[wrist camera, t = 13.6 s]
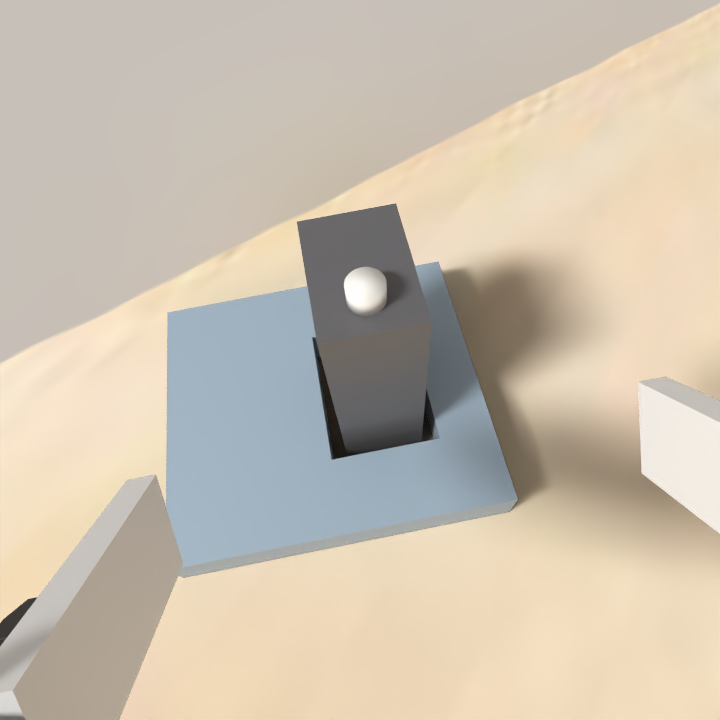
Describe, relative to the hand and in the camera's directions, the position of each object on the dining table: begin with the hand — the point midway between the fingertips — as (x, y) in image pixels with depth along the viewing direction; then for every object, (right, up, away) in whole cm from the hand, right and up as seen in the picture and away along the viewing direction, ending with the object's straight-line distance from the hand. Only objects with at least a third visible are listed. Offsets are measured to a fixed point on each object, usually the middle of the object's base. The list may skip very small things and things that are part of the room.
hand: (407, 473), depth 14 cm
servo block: (0, 0, +18) cm, 18 cm away
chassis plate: (-3, 0, +18) cm, 19 cm away
